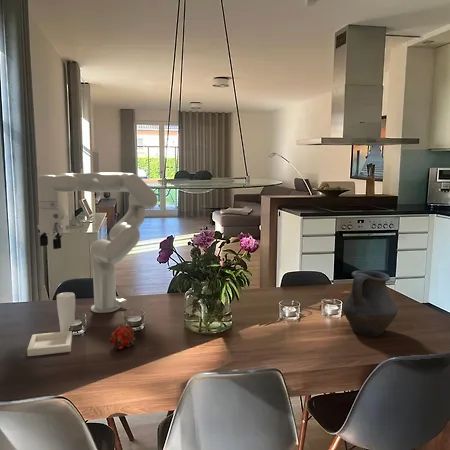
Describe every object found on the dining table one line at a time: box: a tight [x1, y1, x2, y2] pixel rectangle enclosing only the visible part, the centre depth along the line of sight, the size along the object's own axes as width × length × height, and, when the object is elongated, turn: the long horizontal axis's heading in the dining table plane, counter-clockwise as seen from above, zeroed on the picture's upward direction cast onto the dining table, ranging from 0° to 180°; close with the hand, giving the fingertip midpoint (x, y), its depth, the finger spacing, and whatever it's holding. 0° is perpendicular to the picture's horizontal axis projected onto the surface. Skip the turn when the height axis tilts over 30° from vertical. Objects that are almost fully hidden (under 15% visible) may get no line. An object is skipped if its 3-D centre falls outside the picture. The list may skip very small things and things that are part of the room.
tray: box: [27, 331, 73, 357], centre depth 165 cm, size 14×14×2 cm
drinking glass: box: [56, 291, 76, 332], centre depth 178 cm, size 7×7×15 cm
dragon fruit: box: [109, 324, 137, 351], centre depth 164 cm, size 8×8×12 cm
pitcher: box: [342, 269, 399, 338], centre depth 177 cm, size 21×22×25 cm
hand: (50, 247), depth 187 cm, fingers open, 9 cm apart
